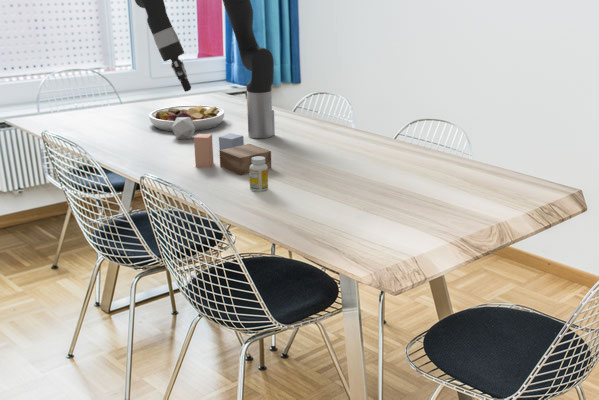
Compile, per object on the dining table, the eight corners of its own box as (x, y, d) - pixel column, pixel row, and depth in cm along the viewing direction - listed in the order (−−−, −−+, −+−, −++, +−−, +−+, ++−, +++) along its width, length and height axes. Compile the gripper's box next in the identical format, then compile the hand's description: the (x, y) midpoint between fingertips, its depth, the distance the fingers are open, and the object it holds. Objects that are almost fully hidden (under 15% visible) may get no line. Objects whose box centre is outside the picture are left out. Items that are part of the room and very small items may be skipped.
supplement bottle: (251, 192, 208) (250, 161, 205) (249, 186, 213) (247, 156, 210) (269, 191, 209) (268, 159, 206) (266, 185, 214) (266, 154, 211)
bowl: (153, 117, 303) (152, 99, 300) (224, 115, 306) (223, 97, 303) (147, 135, 275) (145, 115, 272) (225, 132, 278) (224, 112, 275)
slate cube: (231, 149, 253) (230, 133, 251) (244, 152, 250) (243, 135, 248) (219, 153, 249) (218, 136, 247) (232, 156, 245) (231, 139, 243)
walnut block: (250, 160, 240) (249, 143, 238) (271, 168, 231) (271, 151, 229) (220, 167, 233) (219, 150, 231) (240, 176, 224) (240, 157, 222)
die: (185, 143, 264) (198, 121, 264) (165, 132, 264) (178, 109, 264) (188, 146, 272) (201, 124, 272) (169, 134, 272) (181, 112, 272)
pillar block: (199, 162, 238) (197, 133, 234) (213, 163, 237) (211, 134, 234) (195, 167, 233) (193, 137, 230) (209, 167, 233) (208, 137, 229)
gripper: (178, 39, 228) (198, 87, 232) (179, 40, 241) (198, 84, 245) (156, 48, 227) (177, 95, 231) (159, 48, 241) (178, 93, 245)
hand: (188, 90), depth 238 cm, fingers open, 8 cm apart
